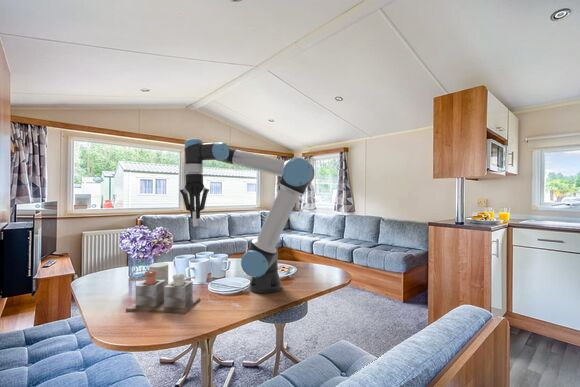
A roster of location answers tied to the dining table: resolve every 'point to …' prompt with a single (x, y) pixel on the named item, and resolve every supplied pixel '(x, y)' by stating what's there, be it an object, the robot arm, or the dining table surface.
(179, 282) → the plug cream
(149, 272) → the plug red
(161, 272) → the beige rectangular block
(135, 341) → the dining table surface
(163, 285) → the socket board
